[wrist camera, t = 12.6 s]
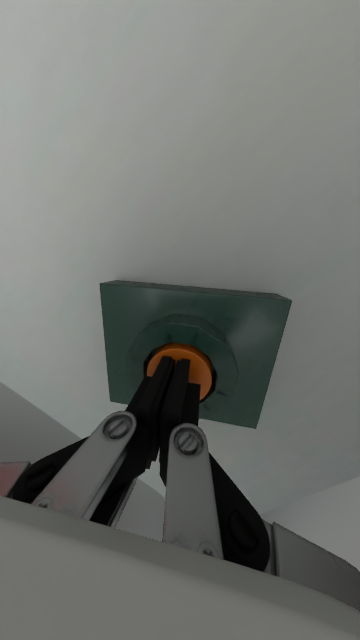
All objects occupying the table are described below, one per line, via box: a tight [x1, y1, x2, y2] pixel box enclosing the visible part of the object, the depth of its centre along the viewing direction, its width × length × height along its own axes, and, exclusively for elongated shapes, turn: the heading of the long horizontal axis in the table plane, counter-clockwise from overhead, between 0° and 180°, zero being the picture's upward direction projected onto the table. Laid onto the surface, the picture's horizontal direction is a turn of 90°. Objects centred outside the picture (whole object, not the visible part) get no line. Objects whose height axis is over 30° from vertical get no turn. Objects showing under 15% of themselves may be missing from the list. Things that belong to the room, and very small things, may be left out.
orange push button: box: [147, 342, 212, 400], centre depth 11 cm, size 4×4×2 cm
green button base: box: [100, 280, 292, 429], centre depth 12 cm, size 12×10×4 cm
